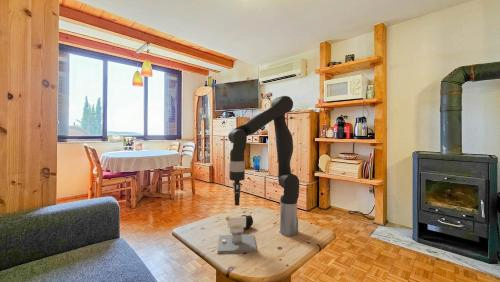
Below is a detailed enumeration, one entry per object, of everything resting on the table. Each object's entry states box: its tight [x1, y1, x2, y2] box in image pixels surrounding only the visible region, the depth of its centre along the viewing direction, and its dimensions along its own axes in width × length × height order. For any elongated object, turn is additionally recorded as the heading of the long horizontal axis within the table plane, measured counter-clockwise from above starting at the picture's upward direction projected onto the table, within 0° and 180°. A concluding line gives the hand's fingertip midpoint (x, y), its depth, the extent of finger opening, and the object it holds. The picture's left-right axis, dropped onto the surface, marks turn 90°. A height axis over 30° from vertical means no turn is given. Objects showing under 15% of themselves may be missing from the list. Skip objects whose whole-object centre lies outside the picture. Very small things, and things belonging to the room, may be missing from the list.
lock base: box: [217, 233, 258, 255], centre depth 111 cm, size 18×16×6 cm
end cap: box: [241, 214, 254, 229], centre depth 131 cm, size 10×7×7 cm
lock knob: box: [225, 215, 247, 235], centre depth 111 cm, size 10×7×7 cm
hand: (236, 202), depth 111 cm, fingers open, 8 cm apart
